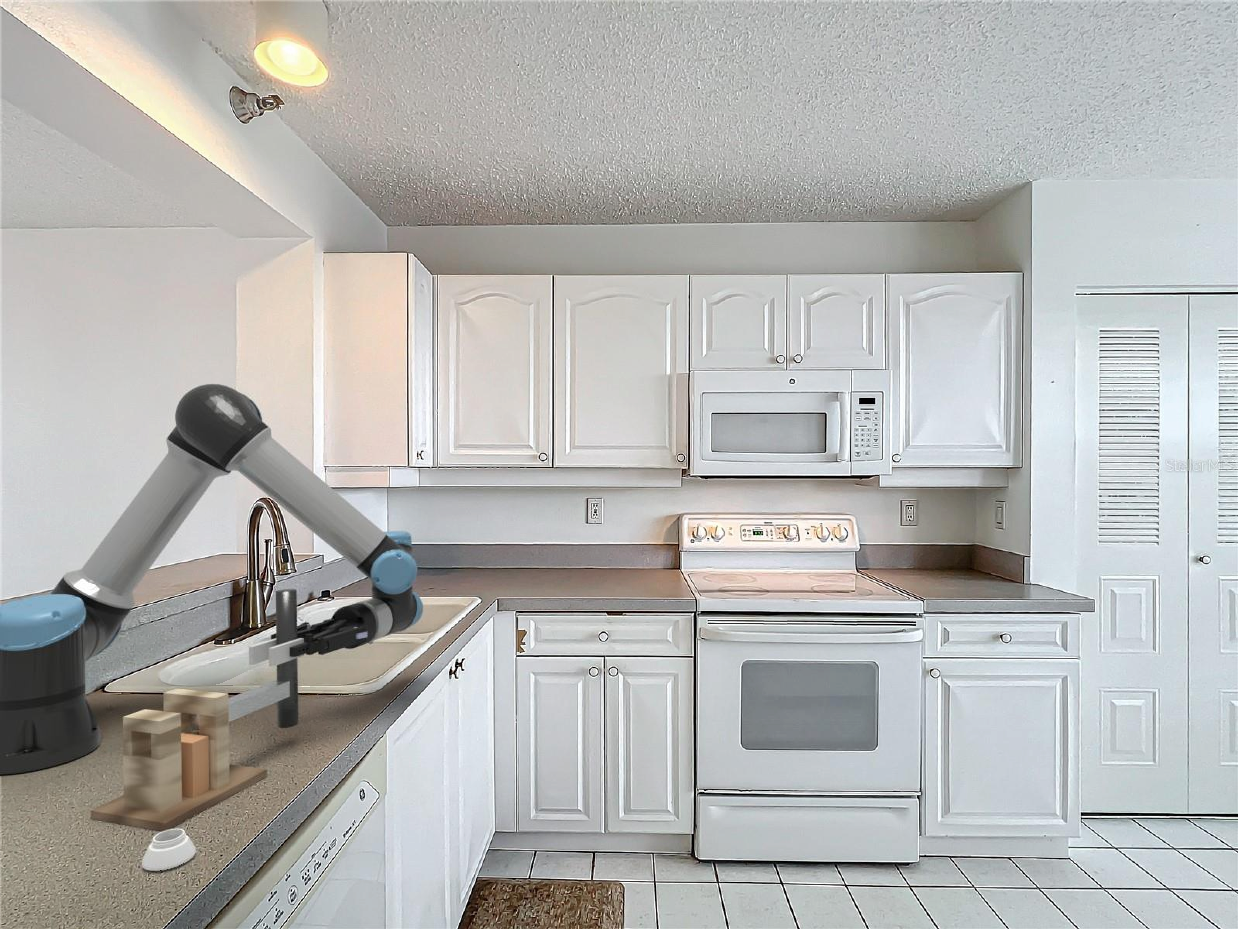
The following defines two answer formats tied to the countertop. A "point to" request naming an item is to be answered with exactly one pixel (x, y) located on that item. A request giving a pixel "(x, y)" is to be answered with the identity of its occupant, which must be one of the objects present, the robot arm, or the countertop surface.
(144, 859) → the lidless jar
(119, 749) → the countertop surface
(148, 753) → the bearing stand
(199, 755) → the spacer
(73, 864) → the countertop surface
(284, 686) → the crank handle
